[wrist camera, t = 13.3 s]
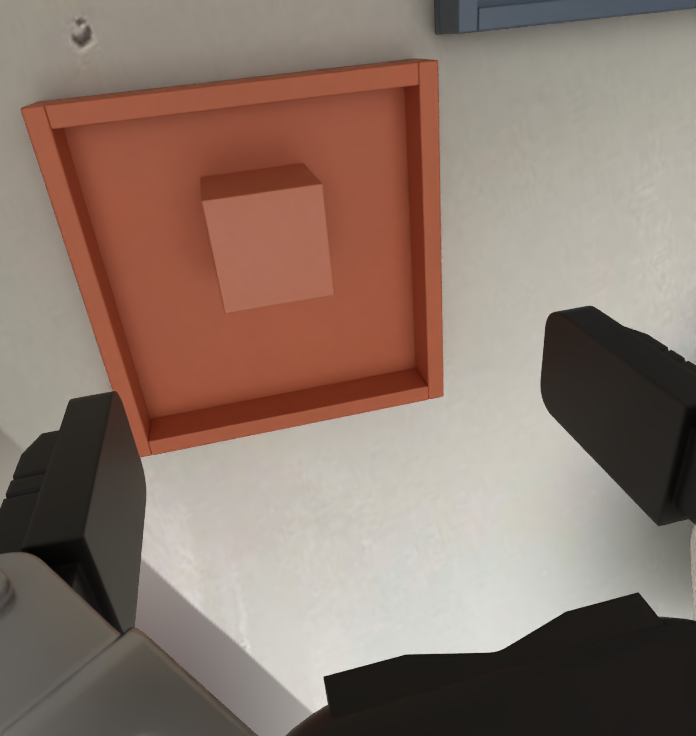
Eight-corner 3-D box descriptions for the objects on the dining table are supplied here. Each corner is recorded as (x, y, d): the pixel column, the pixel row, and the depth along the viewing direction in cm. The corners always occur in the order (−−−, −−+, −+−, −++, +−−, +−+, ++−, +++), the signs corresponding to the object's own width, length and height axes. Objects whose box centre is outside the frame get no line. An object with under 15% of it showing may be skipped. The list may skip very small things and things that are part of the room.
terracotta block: (220, 277, 27) (224, 314, 23) (199, 176, 25) (200, 200, 21) (316, 261, 28) (335, 295, 24) (304, 162, 26) (323, 183, 22)
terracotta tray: (139, 428, 31) (134, 459, 28) (36, 101, 23) (19, 108, 21) (426, 372, 33) (443, 396, 31) (417, 58, 25) (438, 59, 23)
